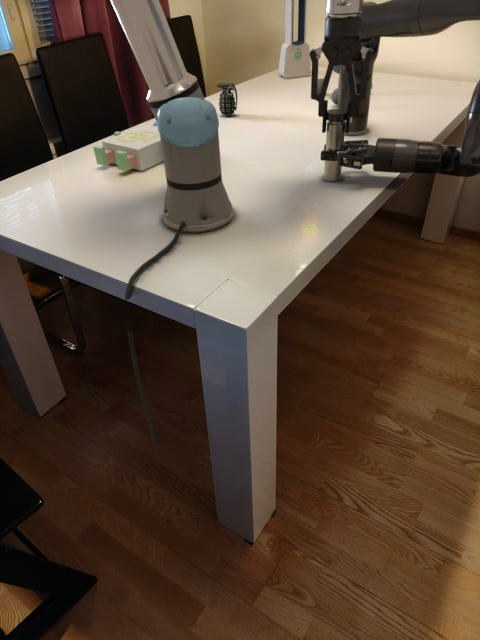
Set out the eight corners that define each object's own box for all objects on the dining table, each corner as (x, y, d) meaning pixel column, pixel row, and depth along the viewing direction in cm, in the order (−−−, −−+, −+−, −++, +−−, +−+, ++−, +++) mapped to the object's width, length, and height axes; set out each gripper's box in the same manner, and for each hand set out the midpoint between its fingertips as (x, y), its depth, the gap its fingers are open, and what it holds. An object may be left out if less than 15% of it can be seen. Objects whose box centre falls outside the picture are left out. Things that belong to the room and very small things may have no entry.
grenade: (217, 117, 168) (214, 86, 162) (221, 112, 172) (219, 82, 166) (235, 117, 166) (233, 86, 160) (239, 113, 171) (238, 82, 165)
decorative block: (148, 117, 149) (198, 126, 139) (151, 138, 153) (200, 148, 143) (82, 141, 133) (133, 153, 123) (87, 165, 137) (138, 178, 127)
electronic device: (283, 78, 209) (284, -5, 191) (278, 75, 215) (278, -6, 197) (310, 75, 212) (314, -8, 193) (304, 72, 217) (307, -9, 199)
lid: (343, 115, 115) (344, 107, 114) (349, 121, 111) (350, 113, 110) (323, 117, 114) (324, 109, 113) (329, 123, 111) (329, 115, 110)
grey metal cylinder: (328, 173, 124) (332, 112, 115) (343, 176, 122) (349, 114, 112) (320, 179, 121) (324, 117, 112) (335, 182, 119) (340, 119, 110)
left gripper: (298, 18, 99) (295, 135, 113) (388, 15, 95) (374, 137, 110) (302, 13, 105) (299, 125, 119) (388, 11, 101) (374, 126, 115)
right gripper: (399, 130, 117) (328, 127, 121) (396, 150, 106) (318, 146, 111) (394, 160, 121) (326, 157, 126) (391, 183, 111) (316, 178, 115)
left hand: (335, 130), depth 114 cm, fingers closed on lid, 5 cm apart
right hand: (322, 151), depth 118 cm, fingers closed on grey metal cylinder, 4 cm apart
